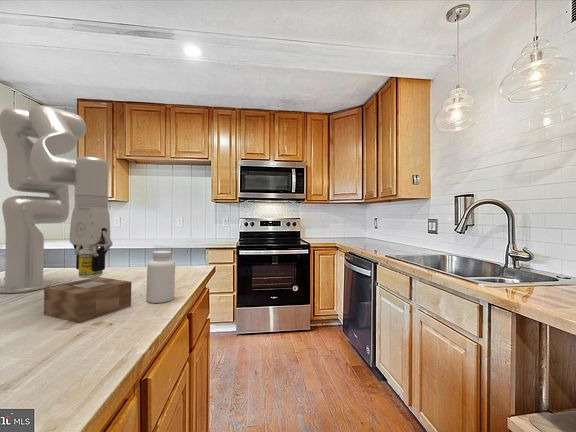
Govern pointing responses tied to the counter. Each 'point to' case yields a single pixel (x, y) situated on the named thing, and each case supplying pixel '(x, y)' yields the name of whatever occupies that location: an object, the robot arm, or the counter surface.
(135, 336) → the counter surface
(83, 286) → the grey flat panel
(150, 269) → the pill bottle
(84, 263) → the supplement bottle
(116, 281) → the socket block
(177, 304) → the counter surface
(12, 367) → the counter surface
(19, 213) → the robot arm
